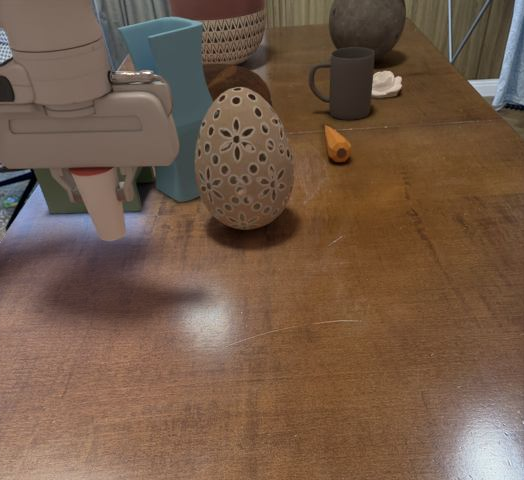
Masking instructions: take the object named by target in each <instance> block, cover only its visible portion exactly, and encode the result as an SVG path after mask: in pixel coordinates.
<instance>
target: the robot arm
mask: <svg viewBox="0 0 524 480" xmlns="http://www.w3.org/2000/svg"><path fill="white" fill-rule="evenodd" d="M0 29H1V30H3V32H4V33H5V34H6V37H7V43H8V47H9V50H10V52H11V56H12V57H9V58H7V59H5V60H4V61H3V62H1V63H0V164H1V165H2V166H4V167H5V168H6V169H8V170H16V169H18V170H22V169H23V170H24V169H25V170H29V169H30V170H31V169H32V170H33V168H49V169H50V172H51V175H52V177H53V178H54V179H55V180H56V181H57V182H58V183H59V184H60V185H61V186H62V187H63V188H64V189H65V190H67V192H68V195H69V198H70V201H71V202H84V201H83V199H82V197H81V194H80V192H79V190H78V187H77V185H76V183H75V181H74V179H73V178H72V176H71V175H70V174H69V173H68V172H67V170H68V169H69V168H83V167H119V168H120V172H121V175H126V178H125V181H124V182H119V186H118V187H117V188H116V193H117V195H118V200H119V201H120V202H125V201H132V200H133V198H134V191H133V187H132V181H133V178H134V175H135V173H136V170H137V166H152V167H155V166H169V165H171V164H172V162H173V161H174V160H175V158H176V156H177V154H178V152H179V140H178V135H177V131H176V127H175V123H174V120H173V117H172V110H173V99H172V93H171V89H170V86H169V84H168V83H167V82H166V80H165V79H163V78H162V77H160V76H158V75H155V74H154V72H153V71H148V70H143V71H140V72H136V71H128V70H120V71H119V70H118V71H116V70H113V71H112V68H111V64H110V60H109V55H108V51H107V47H106V42H105V37H104V34H103V30H102V27H101V25H100V23H99V21H98V19H97V17H96V15H95V12H94V8H93V4H92V0H0ZM155 79H156V80H159V81H161V82H154V81H155Z"/></svg>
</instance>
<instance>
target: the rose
mask: <svg viewBox="0 0 524 480" xmlns="http://www.w3.org/2000/svg"><path fill="white" fill-rule="evenodd" d="M402 81H403V79H402V76H401V75H397V76H395V75H394V73H393V72H392V71H390V70H383V71H377V72H375V73H373V85H372V96H371V99H385V98H391V97H392V98H393V97H396V96H398V93H399V92H400V91H401V89H402V87H403V84H402Z"/></svg>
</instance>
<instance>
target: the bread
mask: <svg viewBox="0 0 524 480" xmlns="http://www.w3.org/2000/svg"><path fill="white" fill-rule="evenodd" d="M203 73H204V77H205V81H206V85H207V87H208V90H209V93H210V95H211V98H212V100H213V102H214V101H215V100H216V99H217V98H218V97H219V96H220V95H221V94H222V93H224V92H225V91H227V90H228V89H231V88H235V87H244V88H248V89H250V90H252V91H254V92H256V93H257V94H259V95H260V96H261V97H263V98H264V99H265V100H266V101H267V102H268V103H269V104H270V103H271V100H272V99H271V98H272V97H271V91H270V88H269V86H268V84H267V83H266V81H264V79H263V78H262V77H261V76H260V75H259V74H257V73H256V72H254V71H253V70H251V69H249V68H247V67H243V66H241V65H229V64H204V65H203ZM235 90H241V88H236V89H235ZM224 99H225V97H222V98H221V99H220V100H219V102H221V101H223V100H224ZM270 105H271V104H270ZM217 111H218V113H219V112H220V110H217ZM255 114H256V113H255ZM256 115H257V114H256ZM257 116H258V115H257Z"/></svg>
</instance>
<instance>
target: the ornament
mask: <svg viewBox="0 0 524 480" xmlns="http://www.w3.org/2000/svg"><path fill="white" fill-rule="evenodd" d="M236 88H241V90H235V89H236ZM222 97H225V99H224V100H223V101H221V102H219V100H220V99H221V98H222ZM217 110H220V112H219V113H218V114H215V112H216V111H217ZM255 113H256V114H257V115H256V114H255ZM273 120H274V122H273ZM202 125H203V127H202ZM202 125H201V127H200V131H199V134H198V139H197V144H196V150H195V176H196V182H197V187H198V191H199V193H200V196H199V197H200V198H201V201H202V203H203V205H204V206H205V208H206V210H207V211H208V212H209V213H210V214H211V216H213V218H214V219H216V220H217V221H219V222H220V223H222V224H223V225H225V226H227V227H230V228H231V229H236V230H243V231H244V230H245V231H247V230H254V229H259V228H262V227H265V226H267V225H268V224H271V223H272V222H274V220H276V219H277V218H278V217H279V216H280V215H281V214H282V213H283V211H284V209H285V208H286V206H287V204H288V203H289V200H290V198H291V195H292V191H293V188H294V181H295V180H294V179H295V167H294V166H295V165H294V164H295V163H294V157H293V151H292V147H291V144H290V139H289V137H288V134H287V132H286V129H285V128H284V125H283V123H282V120H281V119H280V118H279V116H278V115H277V113H276V111H275V110H274V108H273V107H272V106H271V104H269V103H268V102H267V101H266V100H265V99H264V98H263V97H261V96H260V95H259V94H257V93H256V92H254V91H252V90H250V89H248V88H244V87H235V88H231V89H228V90H227V91H225V92H224V93H222V94H221V95H220V96H219V97H218V98H217V99H216V100H215V101H214V102H213V104H212V105H211V107H210V108H209V110H208V111H207V113H206V115H205V117H204V119H203V122H202ZM265 126H266V127H265ZM281 130H282V131H281ZM268 143H270V145H271V146H269V145H268ZM226 144H228V146H226V147H225V148H224V146H225V145H226ZM247 145H250V146H251V149H250V148H247V147H246V146H247ZM281 147H282V148H283V150H282V149H280V148H281ZM199 148H200V149H199ZM208 148H210V150H209V152H208V151H207V149H208ZM214 156H215V159H214V161H213V160H212V158H213V157H214ZM271 171H272V172H273V173H272V174H273V175H271ZM199 173H200V174H199ZM202 176H203V177H204V180H205V182H204V181H203V180H202ZM260 179H261V180H260ZM259 180H260V181H259ZM212 183H213V185H212ZM219 183H220V184H219ZM209 184H210V185H211V186H210V185H209ZM242 190H244V192H243V193H242V194H239V192H240V191H242ZM249 198H250V200H249Z"/></svg>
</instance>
